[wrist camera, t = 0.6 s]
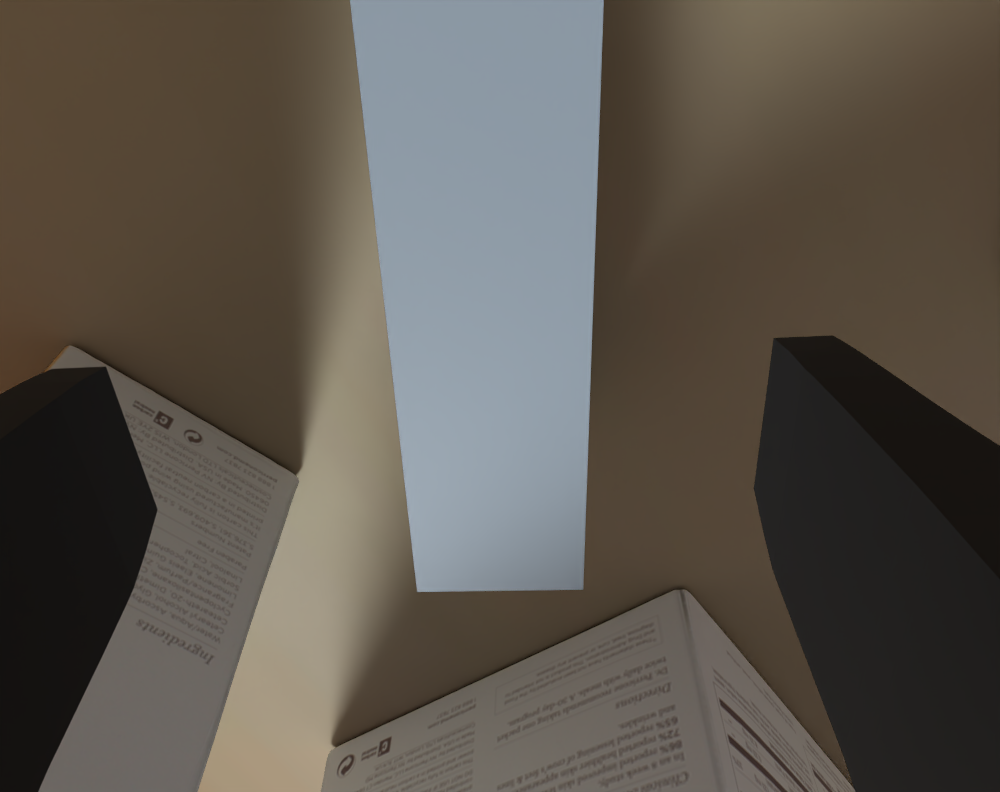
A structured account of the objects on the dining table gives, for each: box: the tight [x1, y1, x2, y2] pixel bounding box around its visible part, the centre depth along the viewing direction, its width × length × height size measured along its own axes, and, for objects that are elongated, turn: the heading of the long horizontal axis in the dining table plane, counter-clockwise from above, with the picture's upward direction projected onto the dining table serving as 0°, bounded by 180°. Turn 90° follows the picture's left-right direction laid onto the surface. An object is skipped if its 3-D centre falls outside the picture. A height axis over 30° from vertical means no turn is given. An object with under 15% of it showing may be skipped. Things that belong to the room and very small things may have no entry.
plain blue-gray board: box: [350, 0, 604, 592], centre depth 15 cm, size 3×12×6 cm, turn 2°
